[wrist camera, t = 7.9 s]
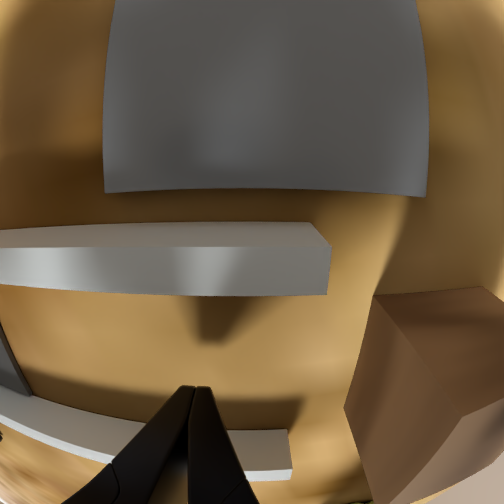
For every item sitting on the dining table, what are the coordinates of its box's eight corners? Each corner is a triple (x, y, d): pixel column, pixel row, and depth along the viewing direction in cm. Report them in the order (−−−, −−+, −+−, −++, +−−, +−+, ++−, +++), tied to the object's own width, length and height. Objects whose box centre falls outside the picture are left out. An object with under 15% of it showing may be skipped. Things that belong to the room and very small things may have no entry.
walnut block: (342, 406, 10) (377, 514, 5) (371, 294, 8) (462, 417, 3) (442, 385, 10) (492, 463, 5) (481, 285, 8) (567, 356, 3)
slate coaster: (115, 190, 7) (104, 193, 6) (137, -51, 4) (131, -60, 4) (414, 193, 7) (425, 197, 6) (394, -38, 4) (402, -46, 4)
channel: (-9, 388, 10) (-24, 408, 8) (-66, 236, 7) (-93, 249, 5) (284, 441, 10) (289, 479, 8) (309, 222, 7) (332, 247, 5)
